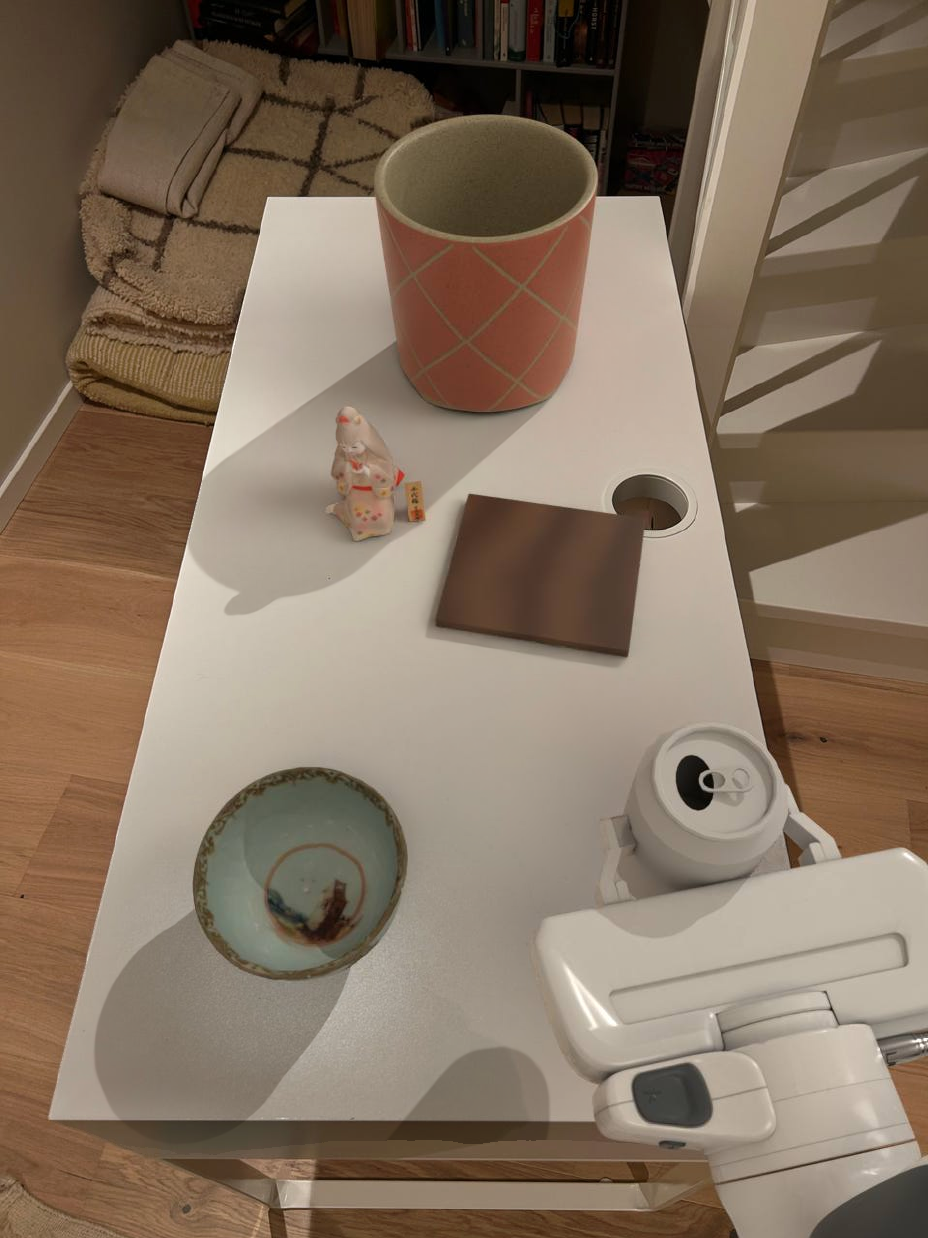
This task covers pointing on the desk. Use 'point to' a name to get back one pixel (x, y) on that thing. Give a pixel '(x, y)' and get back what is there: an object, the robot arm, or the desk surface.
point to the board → (544, 574)
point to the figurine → (368, 479)
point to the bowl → (300, 874)
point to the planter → (486, 257)
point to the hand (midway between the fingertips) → (690, 805)
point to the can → (702, 809)
